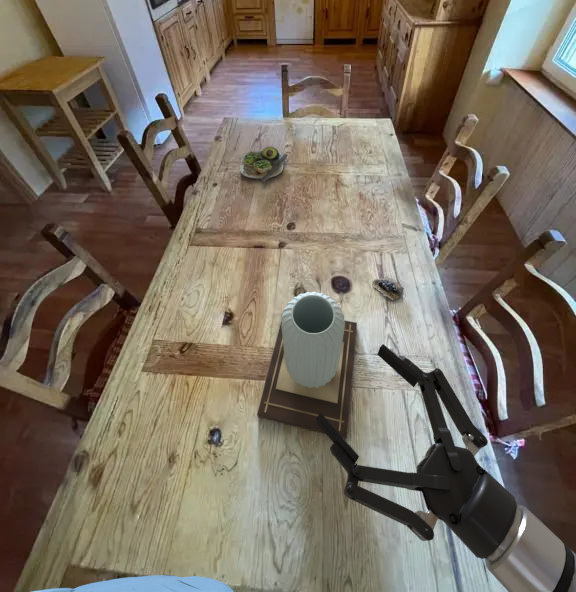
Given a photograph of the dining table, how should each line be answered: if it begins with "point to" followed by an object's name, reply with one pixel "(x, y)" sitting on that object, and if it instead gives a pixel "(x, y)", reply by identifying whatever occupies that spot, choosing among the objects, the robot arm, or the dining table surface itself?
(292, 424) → the picture frame
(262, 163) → the avocado toast plate
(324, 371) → the vase
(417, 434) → the dining table surface
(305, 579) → the dining table surface
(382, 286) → the brown flat lumpy piece
